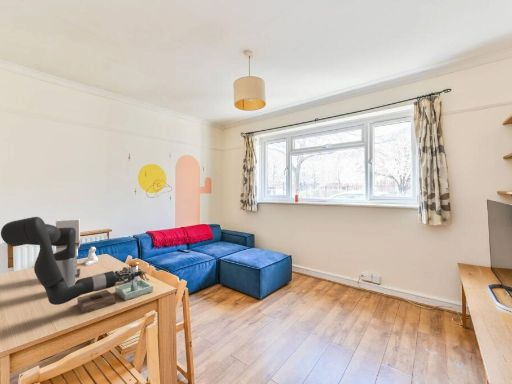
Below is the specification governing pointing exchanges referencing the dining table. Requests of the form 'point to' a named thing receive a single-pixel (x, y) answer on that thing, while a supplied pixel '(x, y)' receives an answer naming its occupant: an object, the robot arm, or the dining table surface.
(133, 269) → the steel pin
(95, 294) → the block
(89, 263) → the sitting furry creature
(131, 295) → the tray
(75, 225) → the tall grey pillar
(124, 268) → the lion figurine
